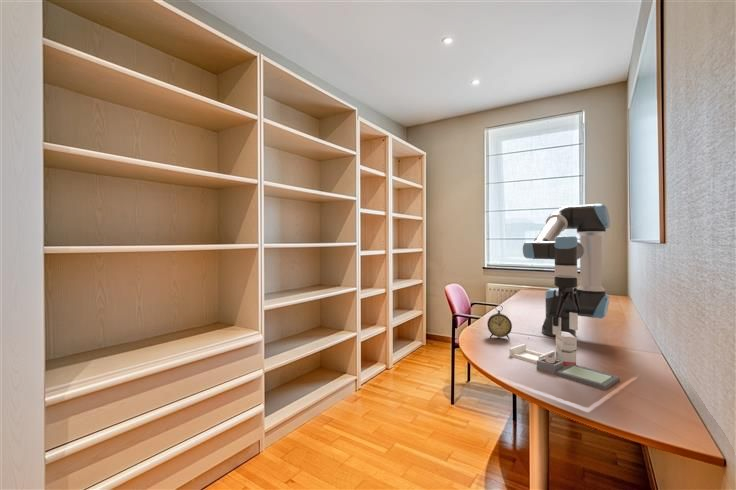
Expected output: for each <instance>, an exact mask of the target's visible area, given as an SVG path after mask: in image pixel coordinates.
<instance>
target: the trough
mask: <svg viewBox="0 0 736 490" xmlns="http://www.w3.org/2000/svg"><path fill="white" fill-rule="evenodd" d="M546 355H552V356H554V357H555V350H551V351H548V352H546V353H542V352H540V351H535V350H531V349H527V344H526V343H522V344H519V345H516V346H513V347H510V348H509V356H510V357H511V358H514V359H519V360H521V361H524V362H525V361H526V362H528V363H533V364H536V365H537V360H539V359H542V358H544V357H545V356H546Z"/></svg>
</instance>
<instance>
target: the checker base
mask: <svg viewBox="0 0 736 490" xmlns="http://www.w3.org/2000/svg"><path fill="white" fill-rule="evenodd" d="M572 366H576V367H580V368H583V369H587V370H590V371H594V372H598V373H601V374H605V375H609V376H612V378H610V379H609V380H607V381H606V382H604V383H602V384H601V383H598V382H595V381H591V380H588V379H584V378H581V377H578V376H574V375H571V374H567V373H564V372H562V371H564V370H566V369H568V368H570V367H572ZM554 375H556V376H558V377H561V378H565V379H567V380H571V381H574V382H578V383H581V384H584V385H588V386H590V387H593V388H594V387H595V388H597V389H601V390H602V391H603V390H604V391H606V390H607V389H608V388H610V387H612V386H613V385H615V384H616V383H618V382H619V381H620V376H617V375H614V374H611V373H607V372H603V371H599V370H595V369H594V368H593V369H592V368H588V367H584V366H580V365H577V364H576V365H574V364H569V365H567V366H564V367H563V368H561V369H559V370H557V371H555V374H554Z"/></svg>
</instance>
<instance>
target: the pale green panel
mask: <svg viewBox="0 0 736 490" xmlns="http://www.w3.org/2000/svg"><path fill="white" fill-rule="evenodd" d="M562 372H564V373H567V374H571V375H574V376H578V377H581V378H584V379H588V380H591V381H595V382H598V383H601V384H602V383H604V382H606V381H607V380H609V379H610V378H612V376H609V375H605V374H601V373H598V372H594V371H590V370H587V369H583V368H580V367H576V366H572V367H570V368H568V369H566V370H564V371H562Z"/></svg>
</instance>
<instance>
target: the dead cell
mask: <svg viewBox="0 0 736 490" xmlns="http://www.w3.org/2000/svg"><path fill="white" fill-rule="evenodd" d="M555 360H556V359H555V357H554V356H552V355H546V356H545V362H546V363H550V364H553V365H554V364H555Z"/></svg>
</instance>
